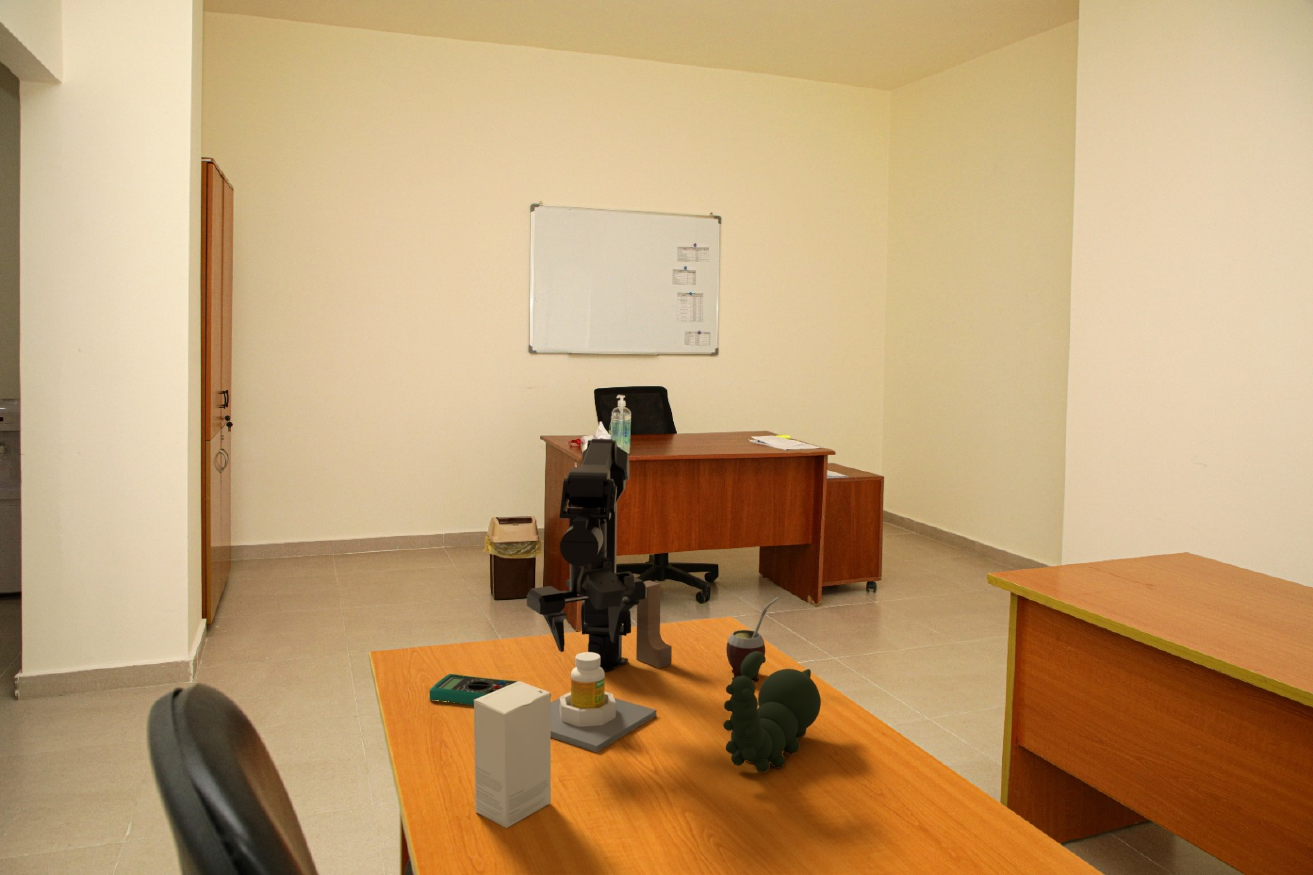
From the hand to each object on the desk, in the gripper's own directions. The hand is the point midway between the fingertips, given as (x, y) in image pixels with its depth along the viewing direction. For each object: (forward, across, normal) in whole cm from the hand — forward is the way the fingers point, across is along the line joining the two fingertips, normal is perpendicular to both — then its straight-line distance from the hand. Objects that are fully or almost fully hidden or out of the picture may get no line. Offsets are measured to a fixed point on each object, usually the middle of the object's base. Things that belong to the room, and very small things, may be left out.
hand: (587, 646), depth 144 cm
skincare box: (+13, -21, -20) cm, 31 cm away
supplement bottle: (+12, 0, 0) cm, 12 cm away
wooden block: (+12, +23, +17) cm, 31 cm away
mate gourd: (+12, +34, +3) cm, 36 cm away
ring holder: (+12, 0, 0) cm, 12 cm away
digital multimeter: (+13, -12, +18) cm, 25 cm away
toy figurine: (+13, +19, -24) cm, 33 cm away
